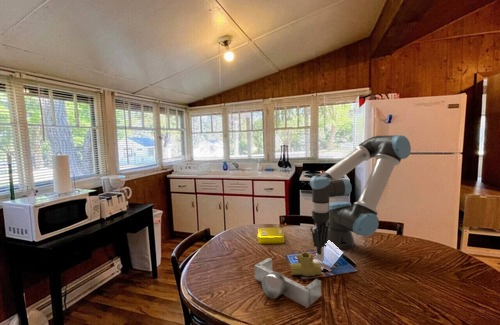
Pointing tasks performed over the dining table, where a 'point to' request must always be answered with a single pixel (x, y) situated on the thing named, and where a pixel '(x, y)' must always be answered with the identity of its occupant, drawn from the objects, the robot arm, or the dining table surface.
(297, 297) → the grey bracket with knob
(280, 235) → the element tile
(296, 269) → the brass pipe tee
